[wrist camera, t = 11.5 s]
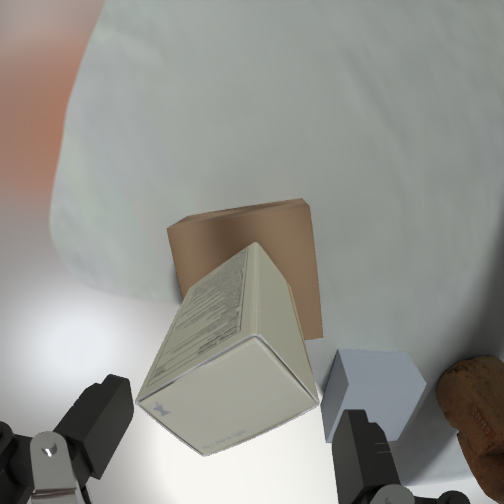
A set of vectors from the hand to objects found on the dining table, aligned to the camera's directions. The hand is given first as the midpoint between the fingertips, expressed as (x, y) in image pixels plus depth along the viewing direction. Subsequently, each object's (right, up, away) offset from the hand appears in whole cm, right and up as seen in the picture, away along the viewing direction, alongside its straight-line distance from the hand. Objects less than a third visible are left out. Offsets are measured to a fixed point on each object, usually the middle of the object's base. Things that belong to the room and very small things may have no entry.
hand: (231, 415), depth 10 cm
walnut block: (+1, +5, +18) cm, 19 cm away
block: (+28, -10, +20) cm, 35 cm away
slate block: (+13, -8, +20) cm, 25 cm away
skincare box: (0, +4, +12) cm, 13 cm away
